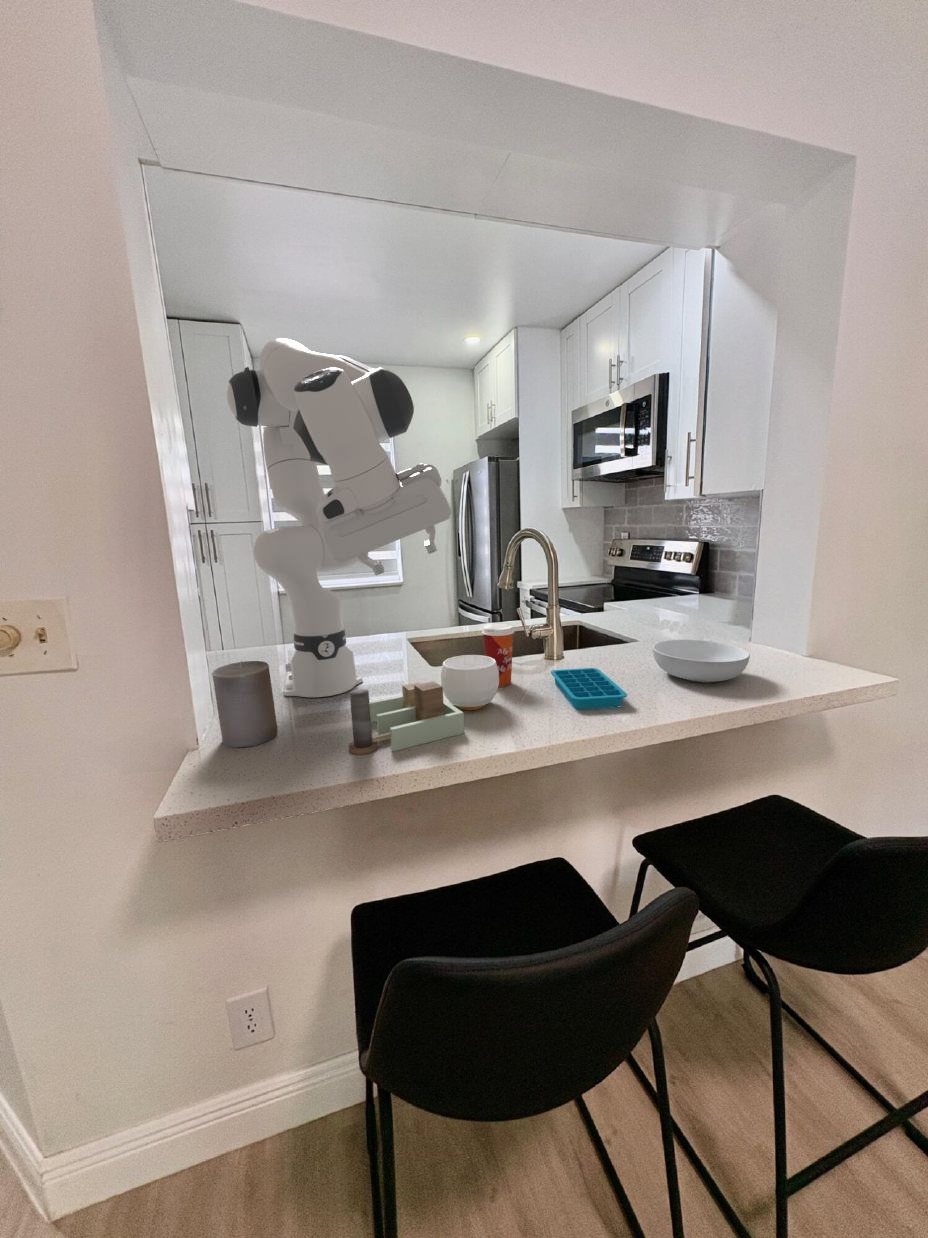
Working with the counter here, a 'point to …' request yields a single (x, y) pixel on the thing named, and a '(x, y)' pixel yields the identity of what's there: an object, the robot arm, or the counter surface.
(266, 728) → the pillar candle
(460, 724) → the lane rack
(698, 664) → the serving bowl
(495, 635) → the paper cup
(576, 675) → the ice cube tray
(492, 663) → the white deep bowl
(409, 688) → the oak block
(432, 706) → the tethered walnut block
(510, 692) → the counter surface
